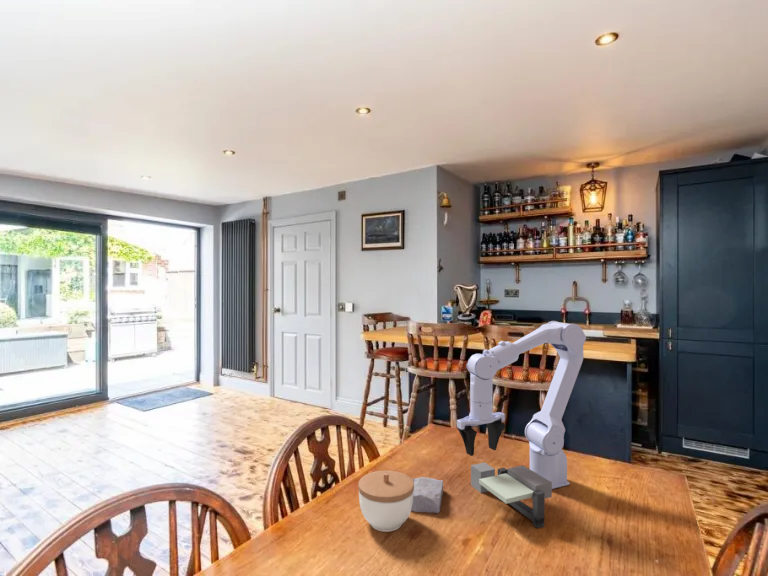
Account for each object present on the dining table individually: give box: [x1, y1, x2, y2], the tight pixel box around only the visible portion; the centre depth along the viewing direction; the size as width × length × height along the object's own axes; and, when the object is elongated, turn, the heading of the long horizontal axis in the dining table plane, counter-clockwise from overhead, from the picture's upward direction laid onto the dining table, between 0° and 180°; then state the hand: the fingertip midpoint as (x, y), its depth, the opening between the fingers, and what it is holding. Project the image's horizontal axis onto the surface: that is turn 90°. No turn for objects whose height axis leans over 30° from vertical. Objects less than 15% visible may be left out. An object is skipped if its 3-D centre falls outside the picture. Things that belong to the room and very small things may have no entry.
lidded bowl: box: [357, 469, 414, 533], centre depth 93 cm, size 13×13×11 cm
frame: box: [496, 467, 545, 529], centre depth 98 cm, size 2×14×8 cm, turn 23°
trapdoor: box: [479, 465, 553, 505], centre depth 97 cm, size 13×10×3 cm
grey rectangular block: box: [470, 462, 496, 494], centre depth 109 cm, size 4×4×6 cm
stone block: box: [411, 476, 444, 514], centre depth 103 cm, size 12×5×10 cm
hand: (481, 451), depth 109 cm, fingers open, 7 cm apart
